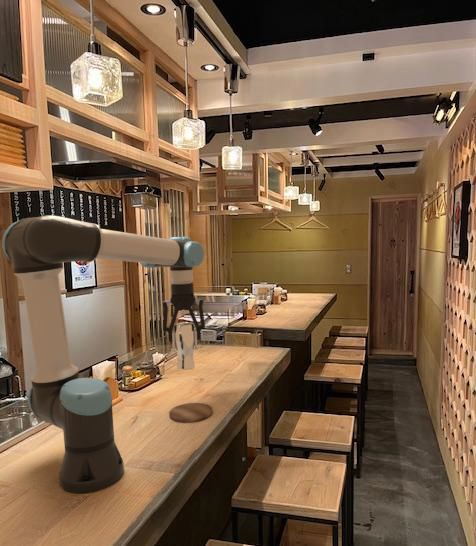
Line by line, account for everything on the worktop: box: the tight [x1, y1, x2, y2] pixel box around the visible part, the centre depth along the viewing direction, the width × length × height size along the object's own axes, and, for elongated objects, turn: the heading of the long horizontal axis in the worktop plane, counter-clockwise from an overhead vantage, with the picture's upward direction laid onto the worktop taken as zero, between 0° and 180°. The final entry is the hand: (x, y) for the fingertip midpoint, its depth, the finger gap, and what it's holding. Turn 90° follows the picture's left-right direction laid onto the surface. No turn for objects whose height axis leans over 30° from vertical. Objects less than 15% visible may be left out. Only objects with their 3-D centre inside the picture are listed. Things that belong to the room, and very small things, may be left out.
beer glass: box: [173, 321, 196, 371], centre depth 152 cm, size 7×7×15 cm
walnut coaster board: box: [168, 402, 213, 424], centre depth 147 cm, size 14×14×1 cm
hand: (185, 350), depth 152 cm, fingers closed on beer glass, 7 cm apart
